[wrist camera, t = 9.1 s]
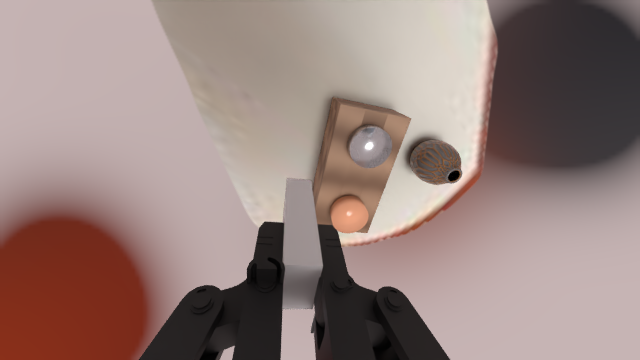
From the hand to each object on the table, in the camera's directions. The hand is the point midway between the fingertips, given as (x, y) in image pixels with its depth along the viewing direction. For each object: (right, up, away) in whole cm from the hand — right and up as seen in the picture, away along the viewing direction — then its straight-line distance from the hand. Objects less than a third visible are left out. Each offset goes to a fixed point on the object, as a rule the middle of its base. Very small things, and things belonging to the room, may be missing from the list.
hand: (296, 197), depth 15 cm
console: (+6, +4, +25) cm, 26 cm away
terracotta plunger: (+5, -2, +25) cm, 26 cm away
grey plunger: (+8, +8, +21) cm, 24 cm away
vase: (+20, +6, +26) cm, 33 cm away
